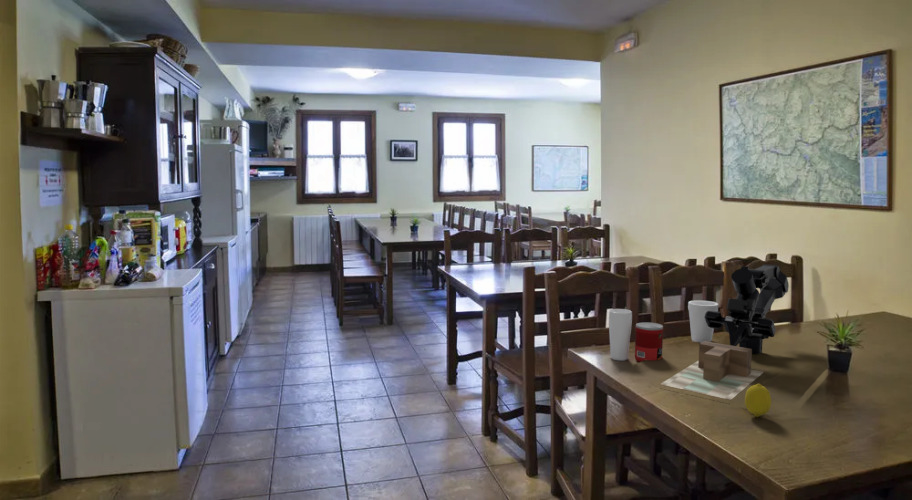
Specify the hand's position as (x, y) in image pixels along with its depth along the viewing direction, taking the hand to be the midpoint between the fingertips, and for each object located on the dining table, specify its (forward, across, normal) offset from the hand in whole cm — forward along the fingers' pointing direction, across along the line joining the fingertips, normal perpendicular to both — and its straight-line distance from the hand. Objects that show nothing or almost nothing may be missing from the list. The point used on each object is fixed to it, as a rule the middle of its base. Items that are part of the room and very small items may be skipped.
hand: (731, 347), depth 182 cm
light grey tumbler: (+13, -30, -3) cm, 32 cm away
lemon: (+28, +16, -19) cm, 38 cm away
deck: (+15, 0, -6) cm, 16 cm away
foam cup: (-14, -18, +24) cm, 33 cm away
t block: (+11, 0, -4) cm, 12 cm away
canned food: (+10, -22, 0) cm, 24 cm away
